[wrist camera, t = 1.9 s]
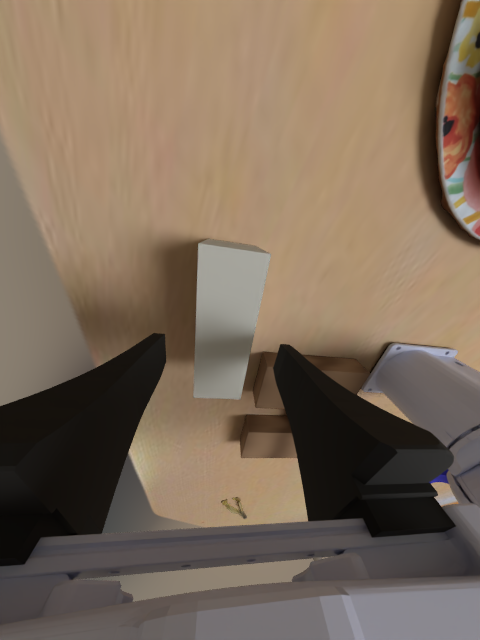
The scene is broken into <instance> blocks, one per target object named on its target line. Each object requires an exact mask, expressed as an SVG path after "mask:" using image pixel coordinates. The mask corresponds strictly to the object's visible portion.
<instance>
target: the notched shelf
mask: <svg viewBox="0 0 480 640" xmlns="http://www.w3.org/2000/svg"><path fill="white" fill-rule="evenodd" d="M277 354H278V353H273V352H263V354H262V358H261V362H260V365H259V369H258V373H257V377H256V381H255V384H254V388H253V395H254V401H255V407H256V408H275V409H285V408H284V405H283V402H282V399H281V396H280V393H279V390H278V387H277V384H276V381H275V376H274V371H273V367H274V363H275V360H276V357H277ZM303 356H304V357H305V358H306V359H307V360H308V361H310V362H311V363H312V364H313V365H315V366H316V367H317V368H318V369H319V370H321V371H322V372H323V373H325V374H326V375H327V376H329V377H330V378H331V379H333V380H334V381H336V382H337V383H339V384H340V385H342V386H343V387H345V388H346V389H348V390H349V391H351V392H352V393H354V394H356V395H357V393H358V392H359V390H360V389H361V387H362V386H363V384H364V383H365V381H366V380H367V378H368V377H369V375H370V373H369V372H368V371H367V370H366V369H365V368H364V367H363V366H362V365H361V364H360V363H359V362H358V361H357V360H356V359H347V358H335V357H323V356H310V355H303ZM240 449H241V458H297V454H296V449H295V444H294V440H293V436H292V432H291V427H290V423H289V420H288V417H287V416H273V415H246V419H245V423H244V426H243V430H242V434H241V438H240Z"/></svg>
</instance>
